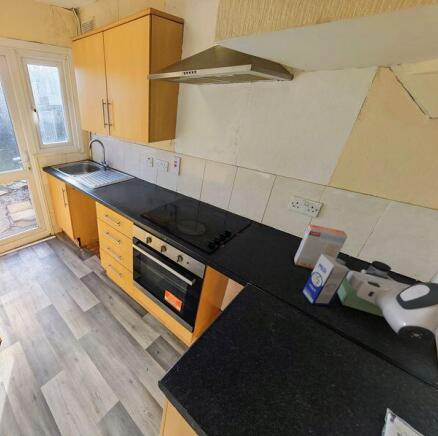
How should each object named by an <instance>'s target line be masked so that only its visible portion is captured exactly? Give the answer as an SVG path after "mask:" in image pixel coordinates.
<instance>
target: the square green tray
mask: <svg viewBox="0 0 438 436" xmlns="http://www.w3.org/2000/svg"><path fill="white" fill-rule="evenodd" d="M346 277H347V276H346ZM337 294H338V297H339V299H340V302H341V304H342V306H345V307H349V308H353V309H354V310H355V309H356V310H359V311H363V312H365V313H369V314H372V315H376V316H379V317H382V318H385V317H384V315H383V312H382V310H380V308H379V307H378V306H376V305H374V304H373V303H371V302H369V301H367V300H365V299H363V298H360V297H358V296H357V295H356V290H354V289H353V288H352V287H351V285H350V284H349V282H348V280H347V278H345V280H344V281H343V283H342V285H341V286H340V288H339V289H338V291H337Z"/></svg>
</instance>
